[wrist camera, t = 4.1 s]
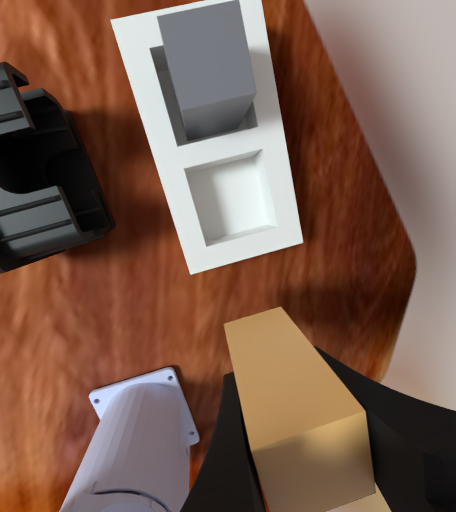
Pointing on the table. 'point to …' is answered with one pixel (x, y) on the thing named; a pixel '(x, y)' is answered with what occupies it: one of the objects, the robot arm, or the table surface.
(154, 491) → the robot arm
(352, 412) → the tan rectangular block
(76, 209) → the end cap
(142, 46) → the socket strip
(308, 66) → the table surface
